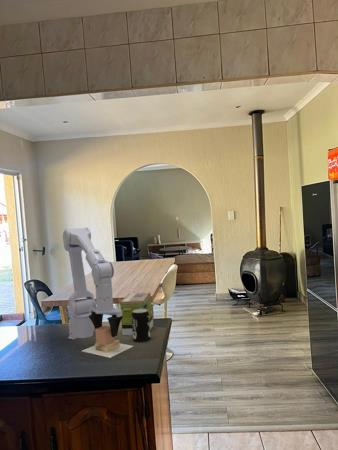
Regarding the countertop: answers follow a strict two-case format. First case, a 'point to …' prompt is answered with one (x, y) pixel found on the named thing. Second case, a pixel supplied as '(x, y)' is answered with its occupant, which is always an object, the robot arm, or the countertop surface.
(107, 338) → the top brick
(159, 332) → the countertop surface
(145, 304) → the tea box
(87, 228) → the robot arm
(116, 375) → the countertop surface
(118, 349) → the build plate
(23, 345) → the countertop surface
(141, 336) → the beverage can
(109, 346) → the bottom brick
